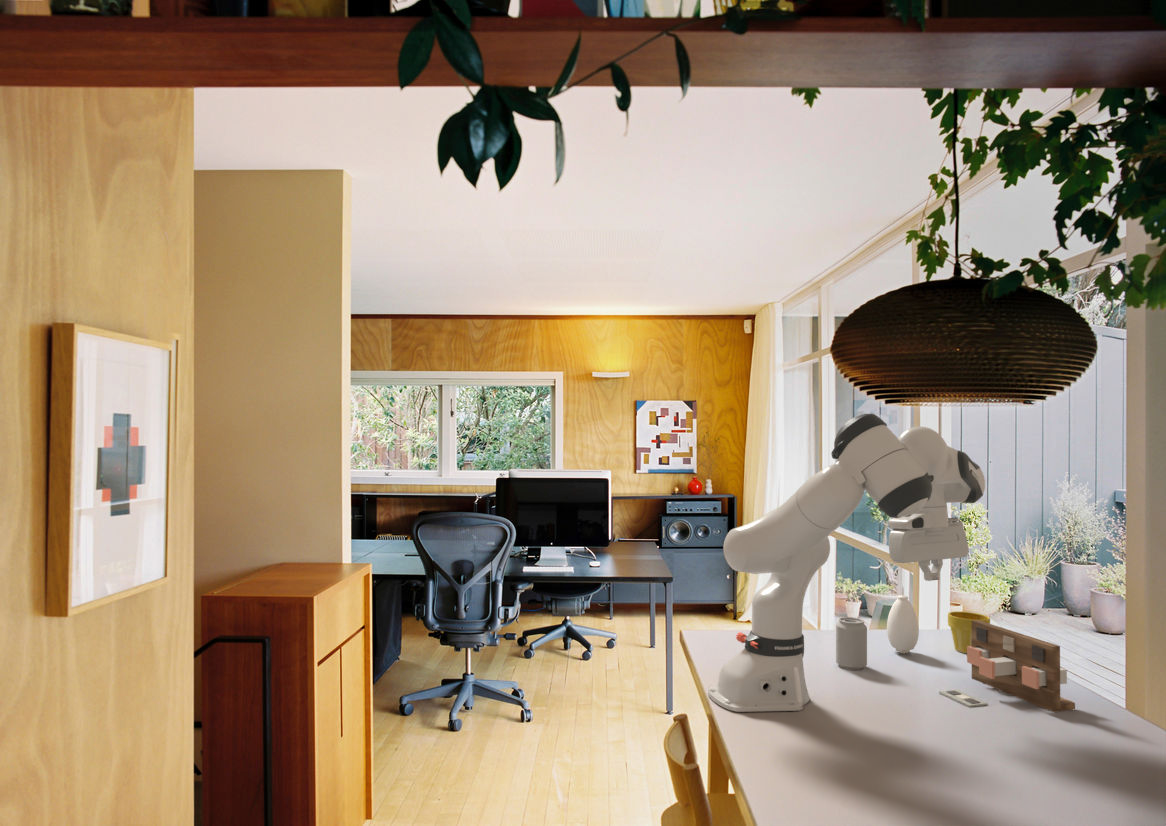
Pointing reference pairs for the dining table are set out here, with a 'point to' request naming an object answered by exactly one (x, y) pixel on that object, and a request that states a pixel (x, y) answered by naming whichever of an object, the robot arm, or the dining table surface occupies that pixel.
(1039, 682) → the button near
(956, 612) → the plant pot
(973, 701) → the card
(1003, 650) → the console
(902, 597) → the cream tall ovoid
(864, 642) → the can
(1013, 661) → the button middle
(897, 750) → the dining table surface
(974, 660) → the button far
